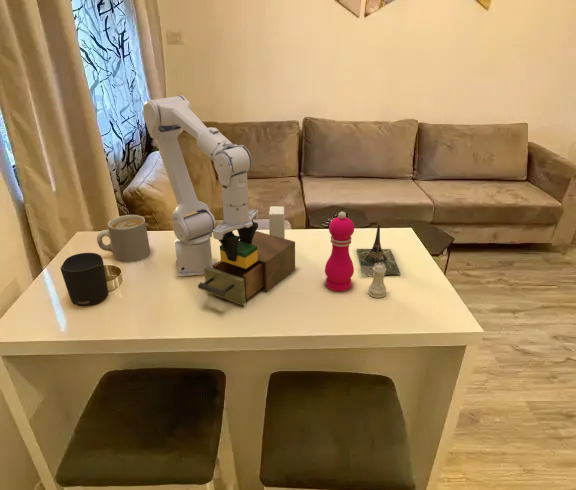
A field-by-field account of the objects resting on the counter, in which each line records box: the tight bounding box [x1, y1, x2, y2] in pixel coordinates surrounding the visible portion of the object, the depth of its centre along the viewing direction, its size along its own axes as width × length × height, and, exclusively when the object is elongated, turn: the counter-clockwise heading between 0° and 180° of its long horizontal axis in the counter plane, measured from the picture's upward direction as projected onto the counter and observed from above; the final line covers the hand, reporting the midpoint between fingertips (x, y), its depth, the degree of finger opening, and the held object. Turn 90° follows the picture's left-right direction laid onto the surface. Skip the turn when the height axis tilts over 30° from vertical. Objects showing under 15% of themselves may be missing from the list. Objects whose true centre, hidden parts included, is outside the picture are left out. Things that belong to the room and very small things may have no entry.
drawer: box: [197, 259, 264, 306], centre depth 117 cm, size 17×11×7 cm, turn 147°
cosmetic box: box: [268, 205, 286, 239], centre depth 138 cm, size 6×4×12 cm
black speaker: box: [59, 252, 109, 308], centre depth 115 cm, size 9×9×10 cm
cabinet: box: [252, 230, 296, 293], centre depth 125 cm, size 13×12×8 cm
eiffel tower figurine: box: [356, 217, 401, 278], centre depth 129 cm, size 15×10×13 cm
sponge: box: [219, 240, 258, 269], centre depth 114 cm, size 5×8×4 cm, turn 57°
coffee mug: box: [96, 214, 151, 263], centre depth 135 cm, size 13×10×10 cm
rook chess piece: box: [367, 263, 387, 299], centre depth 117 cm, size 4×4×8 cm
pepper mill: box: [324, 211, 355, 292], centre depth 117 cm, size 7×7×20 cm
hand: (238, 255), depth 114 cm, fingers closed on sponge, 5 cm apart
